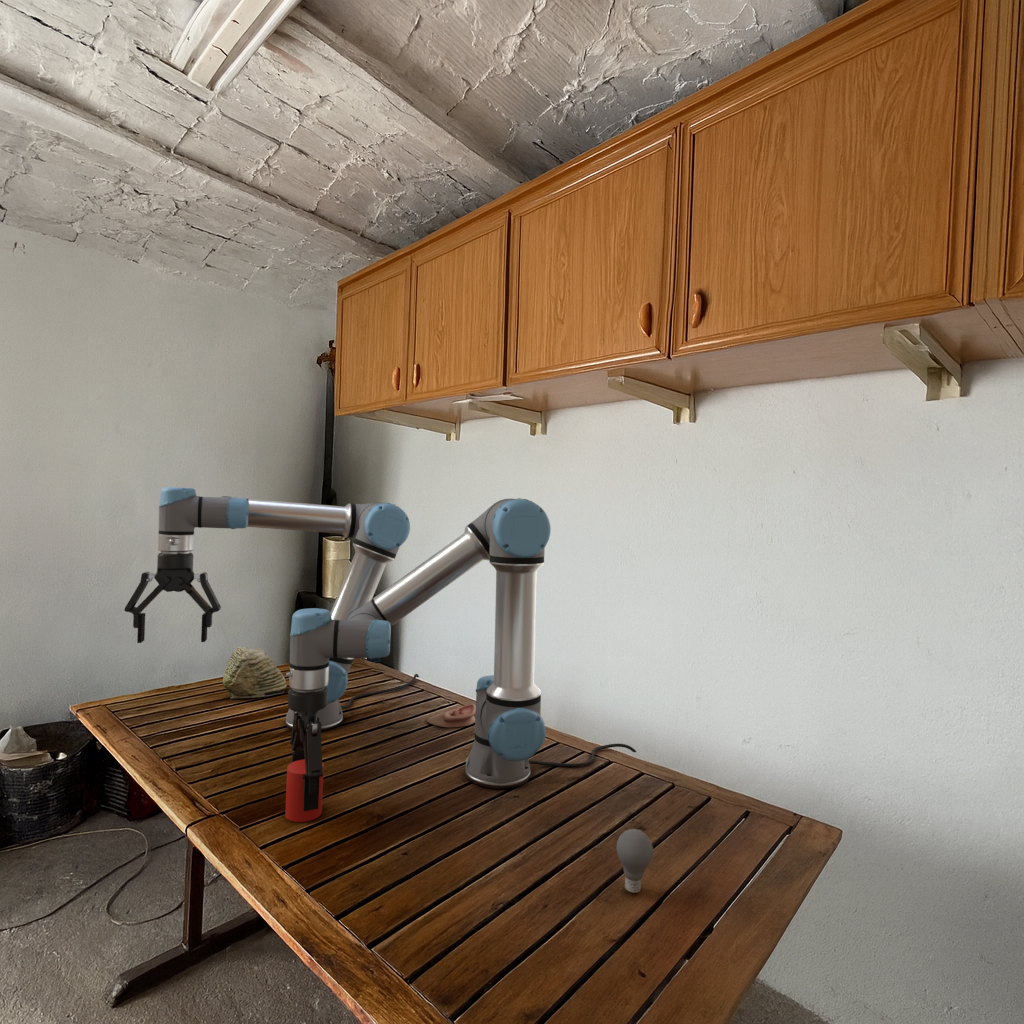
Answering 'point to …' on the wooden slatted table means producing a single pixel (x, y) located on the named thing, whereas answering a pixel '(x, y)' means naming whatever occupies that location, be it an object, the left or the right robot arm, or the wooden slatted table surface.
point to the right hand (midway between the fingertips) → (304, 795)
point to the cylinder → (300, 794)
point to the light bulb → (634, 857)
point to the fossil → (252, 674)
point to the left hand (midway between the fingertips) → (172, 641)
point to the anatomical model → (455, 717)
